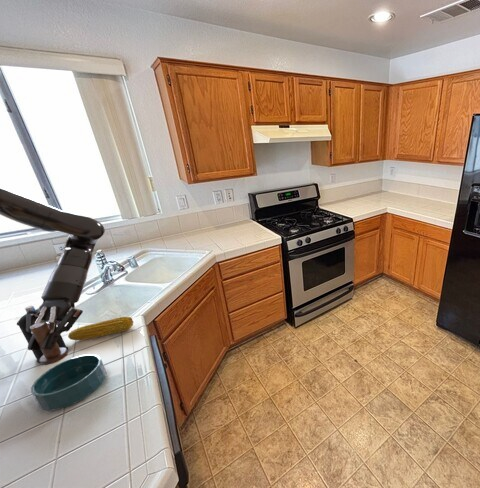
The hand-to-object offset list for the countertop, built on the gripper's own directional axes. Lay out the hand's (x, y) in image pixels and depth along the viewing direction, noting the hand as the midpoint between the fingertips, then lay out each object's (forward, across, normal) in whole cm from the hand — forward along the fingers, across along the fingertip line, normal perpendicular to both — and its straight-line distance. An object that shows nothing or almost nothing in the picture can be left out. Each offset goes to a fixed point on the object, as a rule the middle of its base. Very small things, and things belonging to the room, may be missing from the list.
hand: (40, 349), depth 66 cm
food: (-8, -16, +36) cm, 41 cm away
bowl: (+10, -4, +18) cm, 21 cm away
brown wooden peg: (+2, 0, +5) cm, 5 cm away
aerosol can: (-1, -26, +29) cm, 39 cm away
